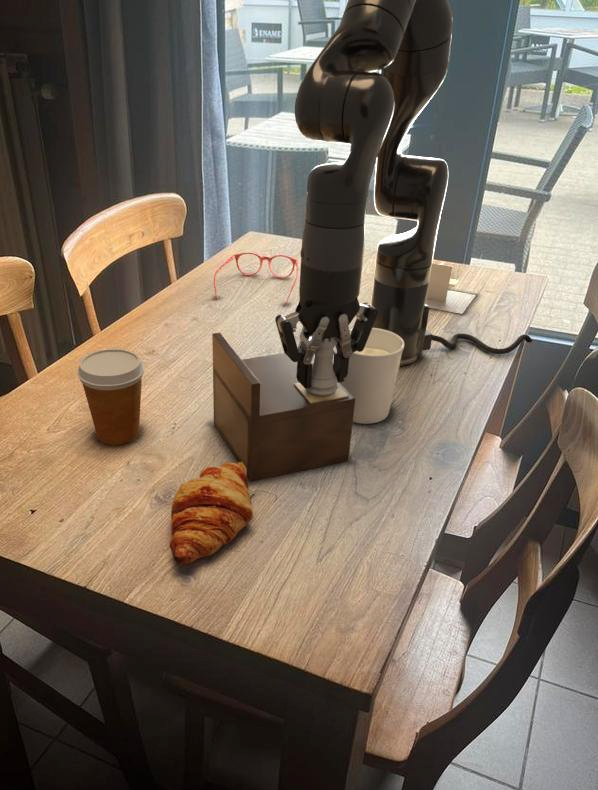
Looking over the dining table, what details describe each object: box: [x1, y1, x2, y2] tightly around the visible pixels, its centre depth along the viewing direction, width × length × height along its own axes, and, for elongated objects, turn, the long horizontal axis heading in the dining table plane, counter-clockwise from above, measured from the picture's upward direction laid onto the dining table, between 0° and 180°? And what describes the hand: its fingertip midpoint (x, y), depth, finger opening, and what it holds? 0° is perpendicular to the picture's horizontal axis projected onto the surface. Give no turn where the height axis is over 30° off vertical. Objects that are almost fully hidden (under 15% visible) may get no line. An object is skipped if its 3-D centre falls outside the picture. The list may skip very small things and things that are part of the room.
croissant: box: [169, 462, 254, 565], centre depth 91 cm, size 21×10×8 cm, turn 162°
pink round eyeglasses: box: [213, 252, 299, 306], centre depth 155 cm, size 17×16×5 cm
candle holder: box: [340, 328, 404, 425], centre depth 111 cm, size 10×10×12 cm
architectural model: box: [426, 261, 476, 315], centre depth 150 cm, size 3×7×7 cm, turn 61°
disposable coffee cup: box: [76, 347, 146, 446], centre depth 105 cm, size 10×10×12 cm
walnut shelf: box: [211, 332, 355, 482], centre depth 103 cm, size 15×16×15 cm
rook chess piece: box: [306, 336, 338, 396], centre depth 96 cm, size 4×4×8 cm
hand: (321, 382), depth 98 cm, fingers closed on rook chess piece, 4 cm apart
